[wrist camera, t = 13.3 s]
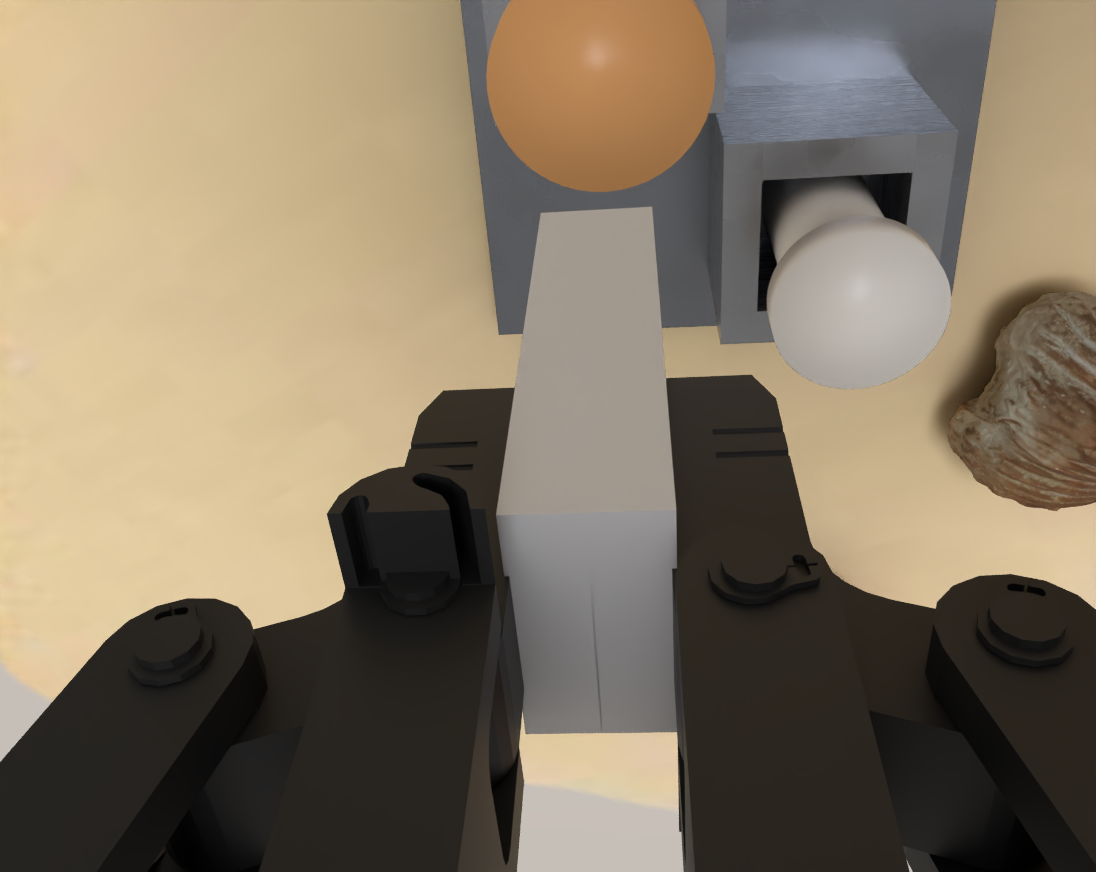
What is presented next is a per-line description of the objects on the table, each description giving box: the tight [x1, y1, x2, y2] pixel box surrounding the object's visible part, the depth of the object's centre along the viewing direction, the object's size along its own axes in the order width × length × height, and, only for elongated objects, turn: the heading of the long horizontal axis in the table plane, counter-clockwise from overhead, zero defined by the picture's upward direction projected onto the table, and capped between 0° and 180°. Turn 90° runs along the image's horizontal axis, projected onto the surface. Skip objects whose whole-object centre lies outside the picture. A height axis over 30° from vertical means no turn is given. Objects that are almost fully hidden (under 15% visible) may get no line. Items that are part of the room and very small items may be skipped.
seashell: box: [948, 292, 1096, 511], centre depth 42 cm, size 9×7×8 cm
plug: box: [761, 175, 951, 389], centre depth 34 cm, size 5×5×9 cm
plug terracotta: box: [486, 0, 715, 192], centre depth 27 cm, size 5×5×9 cm
